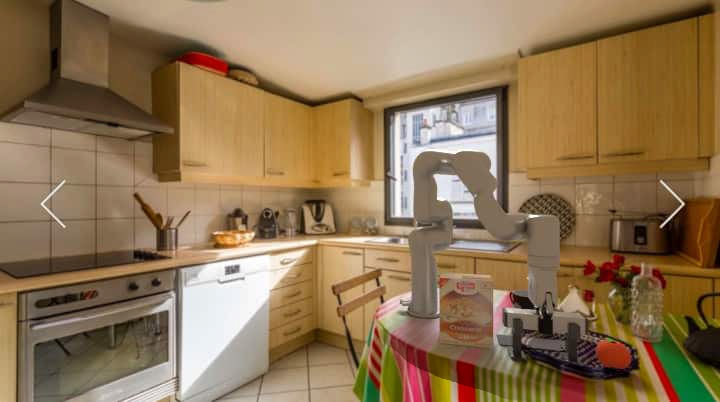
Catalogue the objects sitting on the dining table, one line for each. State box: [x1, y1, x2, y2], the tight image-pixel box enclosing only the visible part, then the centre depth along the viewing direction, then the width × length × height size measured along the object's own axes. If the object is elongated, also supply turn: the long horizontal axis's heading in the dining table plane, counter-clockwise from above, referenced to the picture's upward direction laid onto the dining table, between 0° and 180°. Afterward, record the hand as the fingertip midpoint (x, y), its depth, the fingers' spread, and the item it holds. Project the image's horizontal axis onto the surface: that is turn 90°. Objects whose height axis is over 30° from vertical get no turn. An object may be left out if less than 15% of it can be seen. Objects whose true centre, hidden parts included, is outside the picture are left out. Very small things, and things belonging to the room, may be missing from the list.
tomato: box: [595, 337, 632, 370], centre depth 82 cm, size 8×7×7 cm
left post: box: [506, 320, 527, 362], centre depth 88 cm, size 4×7×10 cm, turn 164°
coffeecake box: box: [438, 272, 494, 349], centre depth 97 cm, size 15×7×20 cm, turn 75°
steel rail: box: [501, 307, 589, 336], centre depth 86 cm, size 19×4×4 cm, turn 74°
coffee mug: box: [509, 289, 534, 310], centre depth 112 cm, size 12×9×10 cm
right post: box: [559, 325, 584, 365], centre depth 85 cm, size 4×7×10 cm, turn 164°
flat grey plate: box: [496, 333, 580, 354], centre depth 95 cm, size 20×7×1 cm, turn 74°
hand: (543, 329), depth 86 cm, fingers closed on steel rail, 4 cm apart
